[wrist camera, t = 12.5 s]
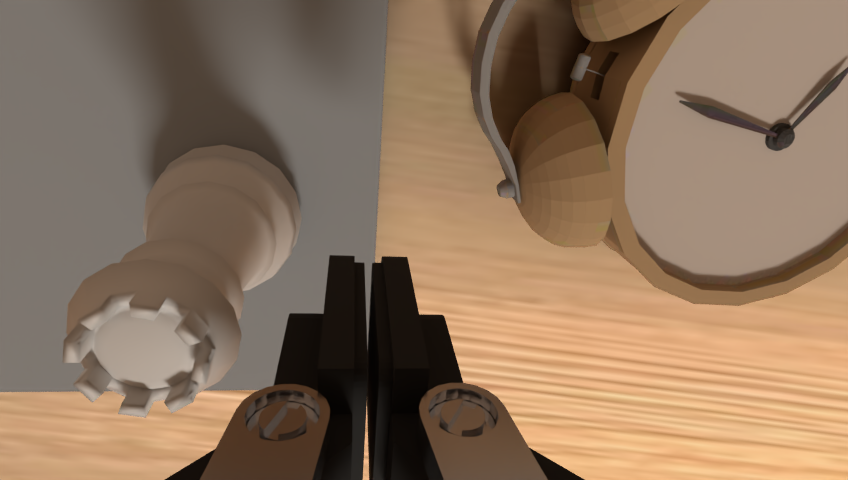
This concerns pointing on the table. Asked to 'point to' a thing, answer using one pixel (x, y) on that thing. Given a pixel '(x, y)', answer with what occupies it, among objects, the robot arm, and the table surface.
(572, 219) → the alarm clock
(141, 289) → the rook chess piece
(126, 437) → the table surface
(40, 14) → the mat
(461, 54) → the table surface
